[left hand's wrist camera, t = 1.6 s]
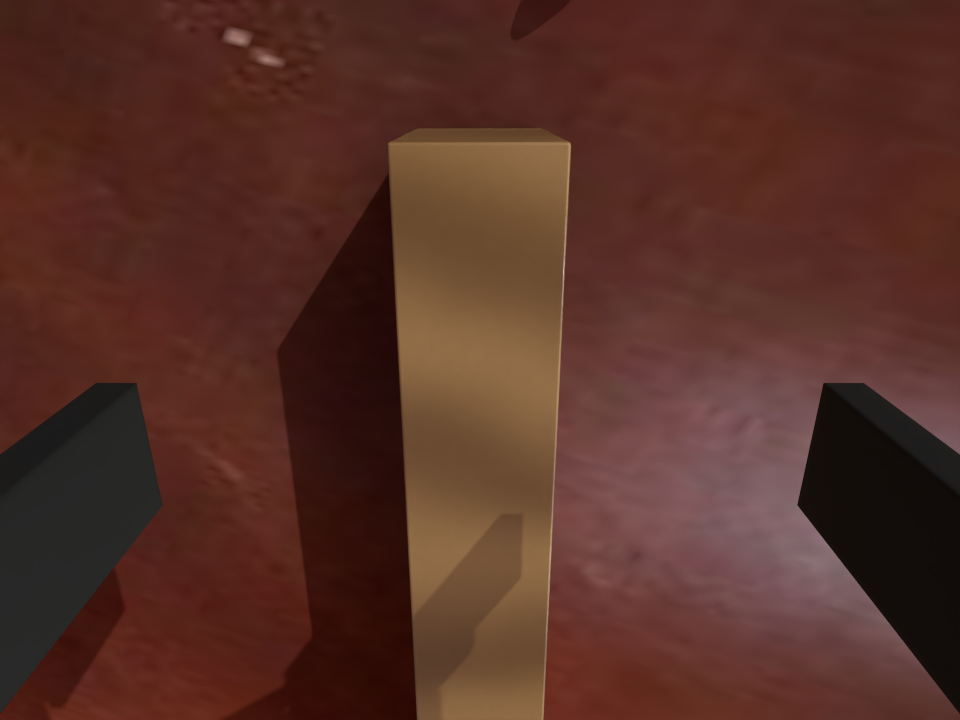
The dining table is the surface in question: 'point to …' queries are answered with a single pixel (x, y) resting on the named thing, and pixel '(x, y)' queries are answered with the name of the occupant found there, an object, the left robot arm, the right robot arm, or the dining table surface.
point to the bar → (479, 406)
